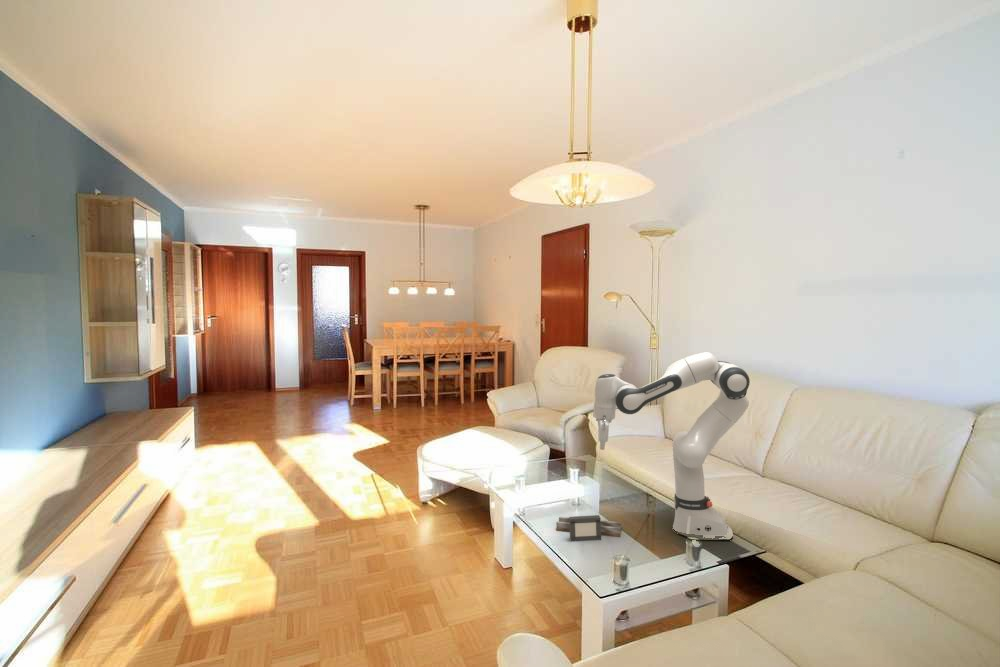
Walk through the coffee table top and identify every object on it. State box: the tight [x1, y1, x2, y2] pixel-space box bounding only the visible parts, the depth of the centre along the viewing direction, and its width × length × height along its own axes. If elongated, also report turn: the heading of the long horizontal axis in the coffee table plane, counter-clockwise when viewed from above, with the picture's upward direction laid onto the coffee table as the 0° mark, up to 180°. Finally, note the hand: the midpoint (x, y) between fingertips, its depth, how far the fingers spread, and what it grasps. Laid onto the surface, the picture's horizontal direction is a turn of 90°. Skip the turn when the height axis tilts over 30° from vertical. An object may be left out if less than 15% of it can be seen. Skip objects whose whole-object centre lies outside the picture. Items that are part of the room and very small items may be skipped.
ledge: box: [555, 516, 623, 538], centre depth 201 cm, size 26×8×3 cm, turn 71°
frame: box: [568, 514, 602, 542], centre depth 193 cm, size 12×2×9 cm, turn 91°
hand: (601, 445), depth 201 cm, fingers open, 8 cm apart
